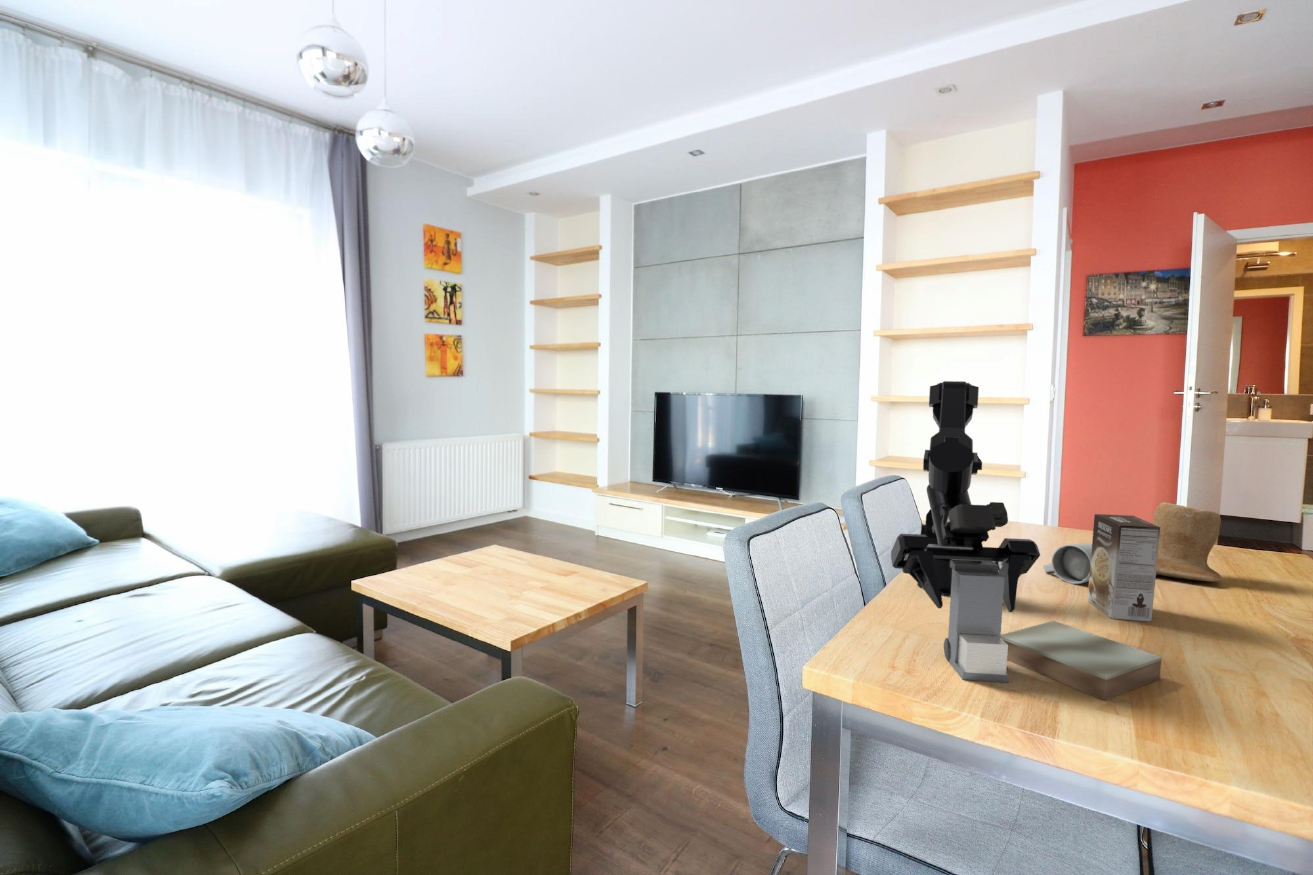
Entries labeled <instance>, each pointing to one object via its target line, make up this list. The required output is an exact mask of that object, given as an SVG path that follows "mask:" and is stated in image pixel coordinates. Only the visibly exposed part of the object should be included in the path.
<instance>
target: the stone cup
mask: <svg viewBox="0 0 1313 875" xmlns="http://www.w3.org/2000/svg"><path fill="white" fill-rule="evenodd" d="M1152 521H1153V523H1152V524H1154V525H1156V526H1158V527H1161V529H1160V539H1159V549H1158V560H1157V570H1156V576H1163V577H1168V578H1169V577H1170V578H1174V579H1183V580H1190V581H1191V580H1192V581H1203V582H1219V581H1220V580H1221V579H1222V576H1221V574H1220V573H1219V572H1217V571H1215V570H1214V569H1213V568H1211V567H1210V566H1209V564H1208V558H1209V555H1210V552H1211V551H1212V549H1213V548H1214V546H1215V544H1216V542H1217V540H1218V538H1219V536H1220V529H1221V522H1222V520H1221V516H1220V515H1219V513H1217V512H1215V511H1212V510H1207V509H1202V508H1195V507H1187V506H1185V505H1180V504H1175V503H1169V502H1161V503H1159V504H1158V505H1157V507H1156V509H1155V511H1154V514H1153V520H1152Z"/></svg>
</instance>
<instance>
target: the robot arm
mask: <svg viewBox="0 0 1313 875" xmlns="http://www.w3.org/2000/svg"><path fill="white" fill-rule="evenodd" d="M979 389H980V388H979V386H975V385H974V384H973V385H972V384H971V383H970V382H966V381H961V380H960V381H959V380H958V381H957V380H956V381H955V380H954V381H953V380H949V381H948V380H943V381H942V382H939V383H937V384H934V385H930V386H929V394H928V395H929V396H928V397H929V398H928V408H932V418H933V420H934V421H935V424H936V425H937V427H938V432H937V433H935V434H934V435H932V436H931V437H930V442H929V443H930V445H929V449H924V454H923V463H922V464H923V465H922V466H923V467H922V468H923V469H922V470H923V472H928V485H927V487H926V494H927V500H928V503H929V507H930V509H929V511H928V512H927V513H926V515H925V523H924V524H923V523H921V526H920V534H919V533H918V534H916V533H900V534H899V535H898V536H897V537H896V539H895V541H894V544H893V546H892V549H891V551H890V553H891V554H890V559H891V565H892V567H893V568H894V569H898V570H899V569H901V570H902V572H903V573H904V574H908V575H910V576H911V577H912V578H913V580H915V582H916V584H917V587H921V588H922V589H923V591H924V592H925V593H926V595H927V596H928V597H929V599H930V600H931V601H932V602H933V604H934V605H935V606H936V608H938V609H942V607H944V606H943V605H944V604H943V597H942V595H943V596H951V582H952V568H951V567H950V559H951V560H973V561H993V562H994V563H996V564H997V565H999V567H998V573H999V574H1001V575H1002V576H1003V577H1005V578H1004V593H1003V604H1004V605H1005V607H1006V610H1007V611H1008V613H1014V611H1015V610H1016V608H1015V607H1016V599H1017V589H1018V582H1019V578H1020V577H1021V576H1022V575H1025V574H1027V573H1028V572H1029V570H1030V569H1031V568H1032V567H1033V566H1034V564H1035V563H1036V561H1038V559H1039V557H1041V553H1040V549H1039V546H1038V545H1037V543H1036V542H1035V541H1034V540H1032V539H1030V538H1029V539H1027V538H1008V537H1005V538H1004V539H1003V540H1002V542H1001V543H1000V545H999V546H998V547H989V546H988V547H987V546H984V545H983V542H987V541H988V540H989V538H990V536H989V532H990V531H994V530H996V529H997V528H1003V527H1004V526H1006V525H1007V524H1008V522H1009V518H1008V517H1009V516H1008V511H1007V508H1006V505H1005V502H1000V501H998V502H997V501H991V502H989V503H988V504H972V502H971V497H970V495H969V491H968V490H969V488H970V487H971V483H972V475H974V476H975V475H977V474H978V471H982V470H983V461H982V459H980V457H979V456H978V452H973V451H974V450H973V449H974V447H973V446H974V443H973V442H974V440H973V439H972V438H971V437H970V436H969V434H967V433H966V427H967V426H968V425H969V423H970V422H971V421H972V419H973V414H974V409H978V407H979Z"/></svg>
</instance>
